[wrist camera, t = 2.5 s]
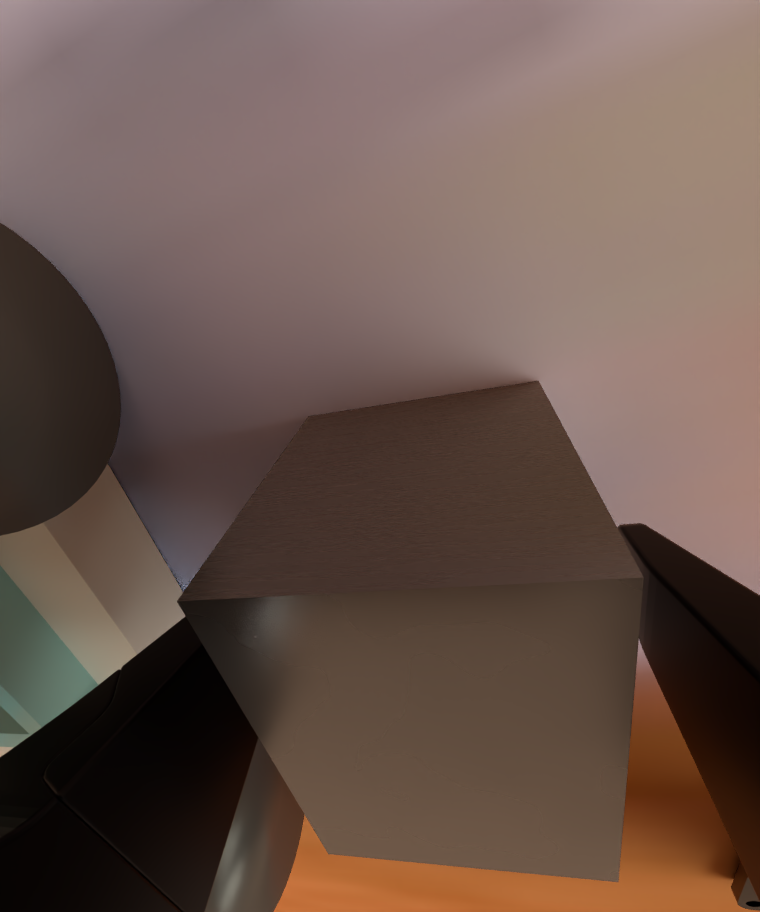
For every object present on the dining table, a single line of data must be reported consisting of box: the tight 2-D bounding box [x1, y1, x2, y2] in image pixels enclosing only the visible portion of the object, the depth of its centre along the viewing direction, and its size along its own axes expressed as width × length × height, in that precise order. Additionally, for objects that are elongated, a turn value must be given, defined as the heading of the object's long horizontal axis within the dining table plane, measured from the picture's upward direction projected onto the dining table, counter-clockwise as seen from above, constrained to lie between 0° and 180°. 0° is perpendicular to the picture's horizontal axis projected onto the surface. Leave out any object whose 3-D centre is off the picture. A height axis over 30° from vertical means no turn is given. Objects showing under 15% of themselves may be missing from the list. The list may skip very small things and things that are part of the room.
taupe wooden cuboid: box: [177, 381, 644, 882], centre depth 8 cm, size 6×4×5 cm
